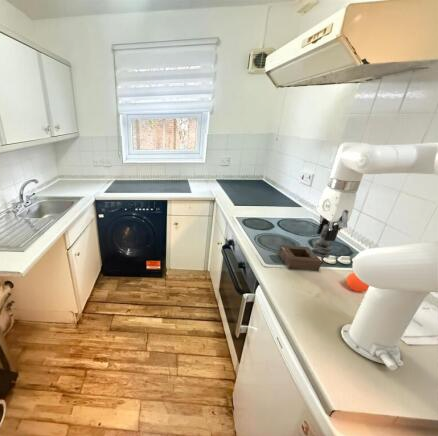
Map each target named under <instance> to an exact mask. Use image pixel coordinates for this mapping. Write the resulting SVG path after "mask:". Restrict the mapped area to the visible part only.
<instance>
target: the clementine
mask: <svg viewBox="0 0 438 436" xmlns="http://www.w3.org/2000/svg"><path fill="white" fill-rule="evenodd" d="M345 282H346V284H347V286H348V287H349V288H350V289H351V290H353V291H355V292H367V290H368V288H369V285H367V284H365V283H364V282H362V281H361V280H360V279H359V278H358V277H357V276H356V275H355V273H354V272H352V273H349V274H348V275H347V277H346V281H345Z"/></svg>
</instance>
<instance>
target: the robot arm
mask: <svg viewBox="0 0 438 436" xmlns="http://www.w3.org/2000/svg"><path fill="white" fill-rule="evenodd" d="M382 174H383V175H384V174H385V175H387V174H415V175H416V174H418V175H419V174H420V175H421V174H422V175H437V176H438V142H425V143H424V142H423V143H404V144H402V143H401V144H400V143H399V144H397V143H396V144H371V143H367V142H359V141H348V142H347V141H346V142H343V143H341V144H340V145H339V147H338V150H337V154H336V156H335V160H334V163H333V166H332V169H331V173H330V176H329V179H328V182H327V185H326V186H325V188H324V189H323V192H322V194H321V197H320V199H319V202H318V204H317V207H316V213H317V214H318V215H319V217H320V219H319V221H318V222H319V224H318V227H317V231H316V234H317V235H319V236H320V233H321V232H322V230H323V226H324V225H326V224H329V223H330V225H329V229H327V231H326V234H325V237H324V240H325V241H330V242H335V241H336V239H337V236H338V234H339V232H340V231H341V229H346V228H348V222H349V221H350V218H351V217H352V213H353V212H354V211H353V210H354V207H355V203H356V198H357V192H358V190H359V187H360V185H361V182H362V179H363V176H364V175H382ZM351 267H352V271H353V273H355V275H356V276H357V277H358V278H359V279H360V280H361V281H362V282H364V283H365V284H367V285H369V288H368V290H366V291H365V294H364V296H363V299H362V301H361V302H360V305H359V307H358V309H357V311H356V314H355V316H354V318H353V321H352V323H347V324H344V325H343V326H342V328H341V331H340V334H341V337H342V339H343V341H344V342H345V343H346V345H347V346H349V348H351V349H352V350H353V351H355V352H356V353H358V354H359V355H360V356H362V357H364V358H366V359H368V360H370V361H372V362H376V363H378V364H382V365H385V366H386V367H387V368H388V369H389V370H391V371H395V370H397V369H398V367H402V366H404V365H405V363H404V362H403V361H402V360H401V356H402V355H401V351H400V349H401V348H399V347H398V344H399V343H400V341H401V339H402V338H403V335H404V334H405V332H406V330H407V328H408V327H409V325H410V324H411V322H412V320H413V318H414V317H415V314H416V313H417V312H418V310H419V309H420V307H421V305H422V303H423V302H424V300H425V299H426V298H427V296H429V294H430V293H438V241H429V242H420V243H419V242H418V243H410V244H408V243H407V244H400V245H390V246H380V247H371V248H370V247H369V248H366V249H363V250H361V251H359V252H358V253H357V254H356V255H355V256H354V258H353V260H352V265H351Z"/></svg>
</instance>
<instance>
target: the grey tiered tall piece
mask: <svg viewBox="0 0 438 436" xmlns="http://www.w3.org/2000/svg"><path fill="white" fill-rule="evenodd" d="M329 225H330V223H329V224H326V225H324V226H323V230H322V232H321V233H320V235H319V238H318V239H317V240H314V241H312V248H313V249H311V253H312V254H313V255H315V256H317V257H318V258H323V259H328V258H329V257H330V254H329V253H330V252H331V251H332V250H333V249H334V245H332V244H331V241H325V240H324V237H325V234H326V231H327V229H329Z"/></svg>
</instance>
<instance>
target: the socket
mask: <svg viewBox="0 0 438 436" xmlns="http://www.w3.org/2000/svg"><path fill="white" fill-rule="evenodd" d="M311 250H312V249H311V248H310V247H309V246H297V245H280V247H279V251H278V256H279V257H280V259H281V260H282V262H283V263H284V265H285V266H286V268H287V269H288V270H296V271H297V270H298V271H309V272H310V271H311V272H320V270H321V266H322V264H323V263H322V262H323V260H321V259H320V257H318V256H315V255H313V254H312V253H311Z"/></svg>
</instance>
